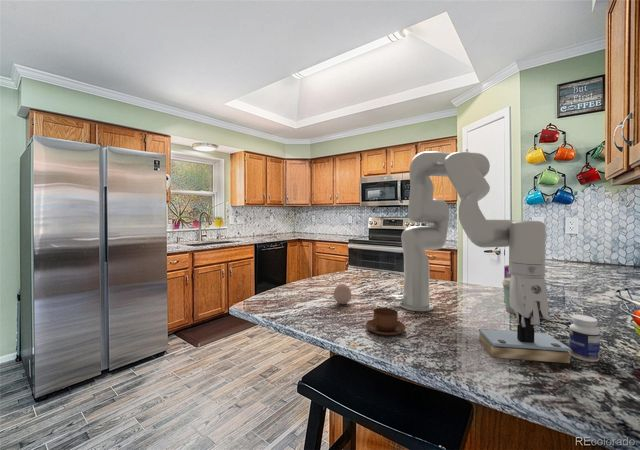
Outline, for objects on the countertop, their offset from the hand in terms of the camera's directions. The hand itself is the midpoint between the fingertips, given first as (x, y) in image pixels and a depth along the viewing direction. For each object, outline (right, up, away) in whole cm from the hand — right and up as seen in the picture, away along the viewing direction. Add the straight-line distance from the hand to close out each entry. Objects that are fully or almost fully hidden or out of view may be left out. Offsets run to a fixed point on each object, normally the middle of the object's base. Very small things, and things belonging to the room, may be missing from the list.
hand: (525, 341), depth 75 cm
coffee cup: (+20, -3, +34) cm, 40 cm away
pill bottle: (+14, -4, -1) cm, 14 cm away
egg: (-43, -3, +46) cm, 63 cm away
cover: (0, -1, +3) cm, 3 cm away
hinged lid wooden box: (0, -4, +2) cm, 4 cm away
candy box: (+27, -3, +43) cm, 51 cm away
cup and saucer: (-32, -4, +17) cm, 36 cm away
